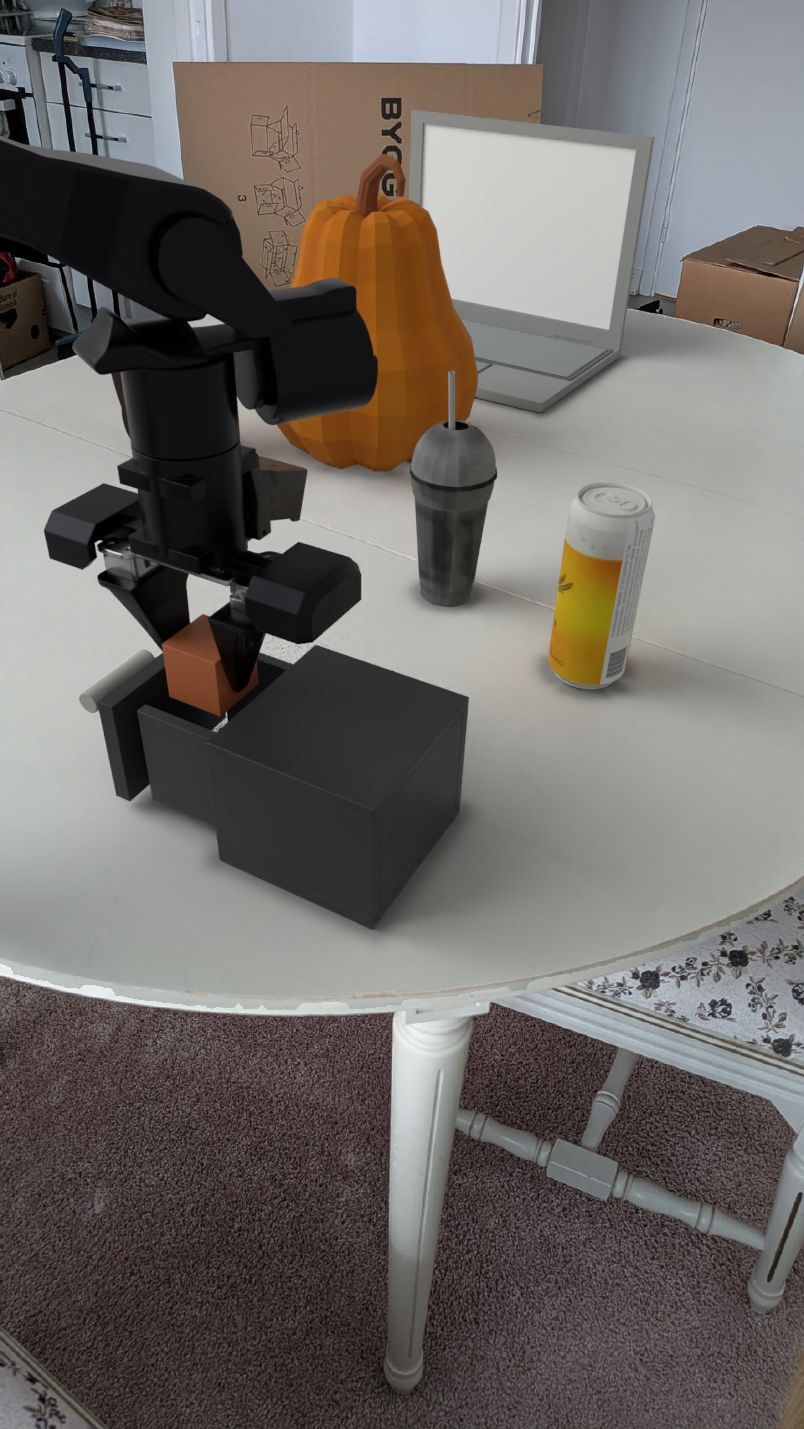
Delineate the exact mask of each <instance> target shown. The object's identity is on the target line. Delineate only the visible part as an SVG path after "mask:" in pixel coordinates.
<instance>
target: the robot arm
mask: <svg viewBox="0 0 804 1429" xmlns="http://www.w3.org/2000/svg"><path fill="white" fill-rule="evenodd" d="M241 236H242V235H241V231H240V229H239V228H238V225H237V223H236V220H235V217H234V216H233V210H232V209H231V208H230V207H229V206H228V204H227V203H226V202H225V201H224V200H223V199H221V198H220V197H218V196H217V195H215V194H213V193H212V192H210V191H208V190H207V189H205V188H203V187H200V186H198V185H197V184H194V183H192V182H189V181H188V180H185V179H183V178H182V177H178V176H177V175H175V174H172V173H170V172H167V171H166V170H163V169H161V168H159V167H156V166H153V165H150V164H146V163H141V162H136V161H130V160H124V159H119V158H114V157H107V156H104V155H98V154H97V155H96V154H92V153H86V152H80V151H79V152H78V151H70V150H61V149H52V148H47V147H41V146H37V145H36V146H35V145H31V144H25V143H21V142H17V141H15V140H13V139H10V138H8V137H6V136H5V137H4V136H2V135H0V237H2V238H5V239H7V240H11V241H14V242H16V243H17V242H18V243H21V244H24V245H25V246H29V247H30V248H33V249H35V250H37V251H38V252H41V253H42V254H45V255H47V256H49V257H51V258H53V259H54V260H56V261H58V262H59V263H62V264H64V265H65V266H67V267H69V268H71V269H72V270H74V271H76V272H78V273H79V274H82V275H83V276H85V277H87V278H88V279H90V280H92V281H94V282H96V283H97V284H99V285H102V286H103V287H104V288H107V289H109V290H111V291H113V292H115V293H116V294H119V295H121V296H122V297H125V298H126V299H128V300H130V301H132V302H134V303H136V304H138V305H140V306H142V307H144V308H146V309H148V310H149V311H152V312H153V313H156V314H158V315H159V317H150V318H146V319H138V320H131V321H124V320H123V319H122V318H121V317H120V316H119V315H118V314H117V313H115V312H114V311H112V310H111V309H110V308H108V307H107V306H101V307H99V309H98V310H97V314H96V316H95V318H94V320H93V321H92V323H91V324H90V325H89V326H88V327H87V328H85V329H84V330H83V332H82V333H81V334H80V335H79V336H78V337H77V338H76V339H75V340H74V341H73V342H72V350H73V352H74V353H75V354H76V356H78V357H79V358H80V359H81V360H82V361H83V362H84V363H85V364H86V365H87V366H88V367H90V368H91V369H92V370H93V371H94V372H95V373H96V374H98V375H100V376H106V375H111V374H112V373H118V372H121V379H122V386H123V393H124V400H125V406H126V413H127V420H128V427H129V434H130V438H129V439H130V448H131V454H132V457H131V458H129V459H128V460H125V461H123V462H121V463H120V464H118V465H116V469H117V474H118V480H119V484H120V485H123V486H126V487H128V488H133V489H136V490H137V492H136V491H132V490H129V489H125V488H122V487H119V486H115V485H111V484H109V483H106V482H103V483H100V485H97V486H96V487H94V488H92V489H90V490H88V491H86V492H84V493H82V494H81V495H79V496H77V497H75V498H73V499H71V500H69V501H67V502H65V503H64V504H62V505H59V506H58V507H56V508H54V509H52V510H51V512H50V513H49V516H48V519H47V521H46V523H45V526H44V529H43V533H44V534H43V535H44V537H45V538H44V539H45V542H46V543H45V544H46V548H47V553H48V556H49V559H50V560H53V561H56V562H59V563H61V564H64V565H67V566H70V567H73V568H75V569H79V570H85V569H87V568H88V567H89V566H91V565H92V564H93V563H94V561H95V560H97V558H98V555H97V554H98V553H97V552H99V553H101V554H102V555H103V562H104V567H105V570H103V571H101V572H100V573H98V575H97V577H96V578H97V582H98V584H99V586H100V587H102V588H105V589H106V590H108V591H110V593H111V594H112V595H113V596H114V597H115V598H116V599H117V600H118V601H119V603H120V604H121V605H122V606H123V607H124V609H125V610H127V612H128V613H129V614H130V615H131V616H132V617H133V618H134V619H135V620H136V621H137V623H138V624H139V625H140V626H141V627H142V628H143V629H144V631H145V632H146V633H147V634H148V636H149V637H150V638H151V640H152V641H153V642H154V643H155V644H156V646H157V647H158V648H159V649H160V651H161V653H163V649H162V644H163V643H164V642H165V641H167V640H168V639H169V638H171V637H172V636H174V635H175V634H176V633H178V632H179V631H180V630H182V629H183V628H184V627H186V626H187V625H188V624H190V623H191V616H190V608H189V606H190V605H189V598H188V597H189V596H188V587H187V586H188V585H187V583H188V578H189V575H191V576H193V577H197V578H200V579H203V580H206V581H209V582H212V583H215V584H218V585H220V586H225V587H229V592H230V595H229V601H228V602H227V603H225V604H224V605H223V606H222V607H220V608H219V609H217V610H216V611H215V612H214V613H212V614H211V615H209V616H210V617H208V622H209V625H210V628H211V631H212V634H213V637H214V640H215V643H216V646H217V649H218V652H219V655H220V658H221V661H222V665H223V668H224V671H225V674H226V677H227V679H228V681H229V683H230V685H231V687H232V689H233V691H235V692H238V693H239V692H240V691H242V690H243V689H244V688H245V687H246V686H247V685H248V683H249V680H250V678H251V675H252V672H253V669H254V666H255V663H256V660H257V658H258V655H259V652H260V651H261V649H262V646H263V643H264V641H265V638H266V635H270V636H272V637H275V638H278V639H280V640H283V641H287V642H289V643H293V644H295V645H303V644H311V643H314V642H315V641H316V640H318V638H320V637H321V636H322V635H323V634H324V633H326V632H327V630H329V629H330V628H331V627H332V626H333V625H335V623H336V622H338V621H339V620H340V619H341V618H343V617H344V616H345V615H346V614H347V613H348V612H349V611H350V610H352V609H353V608H354V607H355V606H356V605H357V604H358V603H359V602H361V601H362V572H361V570H360V567H359V566H360V565H359V564H358V563H357V562H356V561H355V560H354V559H353V558H351V557H350V556H347V555H345V554H341V553H339V552H335V551H332V550H327V549H325V548H321V547H318V546H315V545H311V544H308V543H305V542H301V541H297V542H296V543H294V544H293V545H292V546H291V547H289V548H288V549H286V550H285V551H283V553H280V552H278V551H274V550H268V551H262V552H254V551H252V550H249V542H250V541H251V540H257V541H261V540H262V539H265V537H267V536H268V535H270V534H271V533H272V522H273V521H283V520H289V521H290V522H292V523H293V522H294V523H295V522H299V521H300V520H301V517H302V516H301V515H302V510H303V509H302V508H303V502H304V497H305V490H306V484H307V479H308V478H307V477H308V469H307V468H305V467H302V466H299V465H296V464H291V463H289V462H288V463H287V462H284V461H281V460H276V459H273V458H270V457H265V456H261V455H259V453H257V449H256V447H255V448H254V447H251V446H248V445H243V444H241V442H242V441H241V431H240V430H241V428H240V418H239V417H240V416H239V405H238V402H239V403H240V404H241V405H242V406H243V408H245V409H247V410H248V411H251V410H255V412H256V414H257V415H258V416H259V418H260V419H261V420H262V422H264V423H265V424H267V425H269V426H277V424H282V423H287V422H292V421H297V420H301V419H306V418H311V417H316V416H321V415H326V414H331V413H336V412H340V411H345V410H350V409H355V408H360V407H363V406H366V405H367V404H368V403H369V402H370V401H371V399H372V397H373V395H374V393H375V389H376V385H377V378H378V360H377V357H376V356H375V355H374V353H373V347H372V342H371V339H370V335H369V332H368V329H367V327H366V324H365V322H364V320H363V318H362V317H361V315H360V313H359V311H358V310H357V290H356V288H355V287H354V286H352V285H350V284H348V283H346V282H344V281H342V280H340V279H338V278H331V279H323V280H318V281H315V282H313V283H311V284H308V285H306V286H302V287H294V288H291V287H289V288H280V289H274V290H273V289H272V290H268V289H267V287H266V286H265V285H264V283H263V282H262V281H261V279H260V278H259V277H258V276H257V275H256V273H255V272H254V270H253V269H252V268H251V266H250V265H249V264H248V263H247V262H246V260H245V259H244V257H243V256H244V255H243V254H244V253H243V252H244V251H243V244H242V237H241ZM207 315H209V316H211V317H212V318H214V319H216V320H218V321H219V322H221V323H220V324H213V325H205V326H192V325H191V324H190V322H196V321H197V322H198V321H201V320H203V319H205V318H206V316H207ZM99 541H100V542H99ZM97 542H99V543H97ZM96 543H97V544H96ZM260 653H261V652H260Z"/></svg>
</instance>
